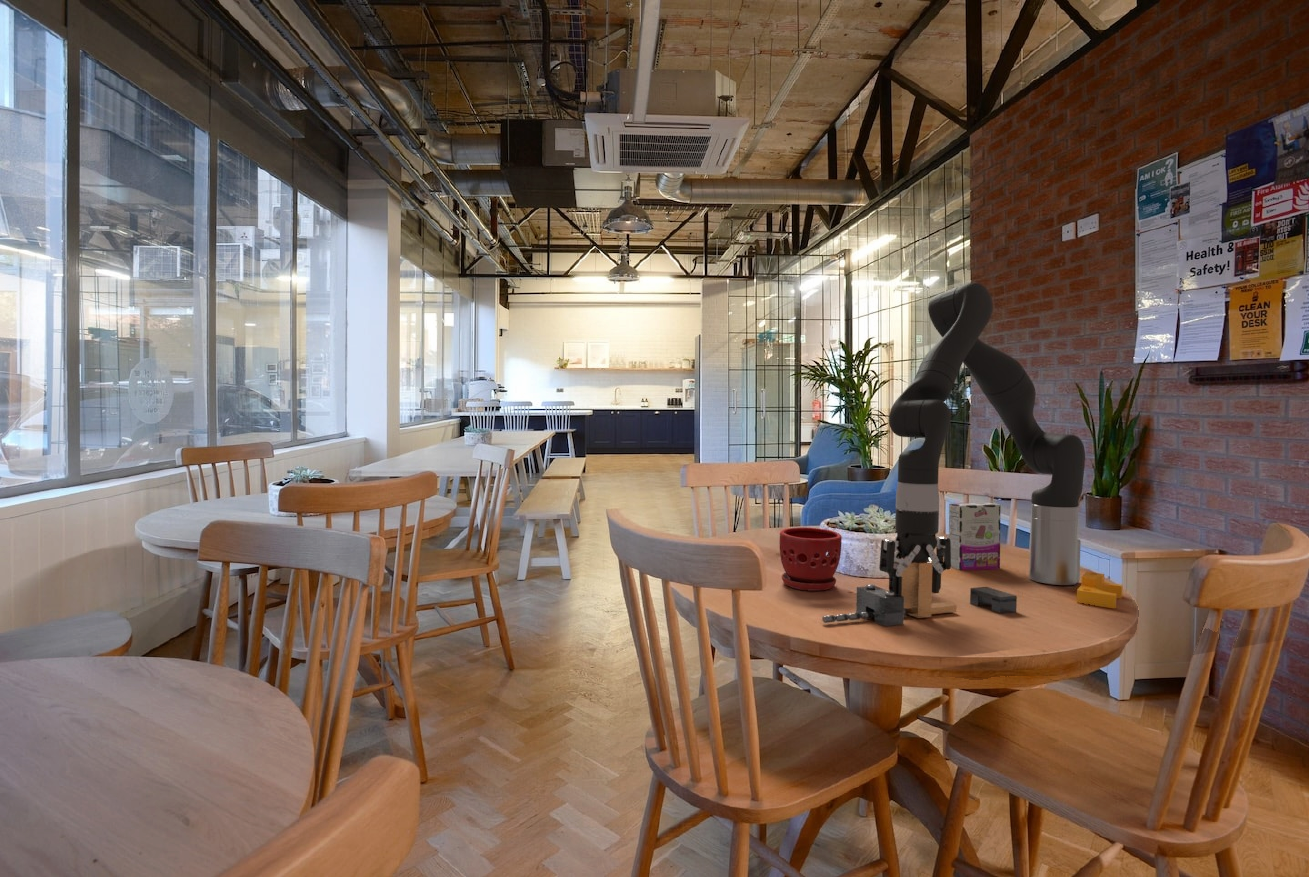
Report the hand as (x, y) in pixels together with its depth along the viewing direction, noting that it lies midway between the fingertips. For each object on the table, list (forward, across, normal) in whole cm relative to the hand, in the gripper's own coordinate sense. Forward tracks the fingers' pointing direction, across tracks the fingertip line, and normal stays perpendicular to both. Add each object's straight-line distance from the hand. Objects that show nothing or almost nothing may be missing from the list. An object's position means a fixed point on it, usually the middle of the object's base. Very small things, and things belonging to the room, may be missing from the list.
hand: (914, 594), depth 127 cm
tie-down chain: (+4, +8, 0) cm, 9 cm away
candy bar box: (+4, -41, -28) cm, 50 cm away
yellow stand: (+2, -43, -1) cm, 43 cm away
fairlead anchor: (+4, +8, 0) cm, 9 cm away
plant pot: (+4, +7, -25) cm, 26 cm away
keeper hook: (+4, -19, 0) cm, 19 cm away
